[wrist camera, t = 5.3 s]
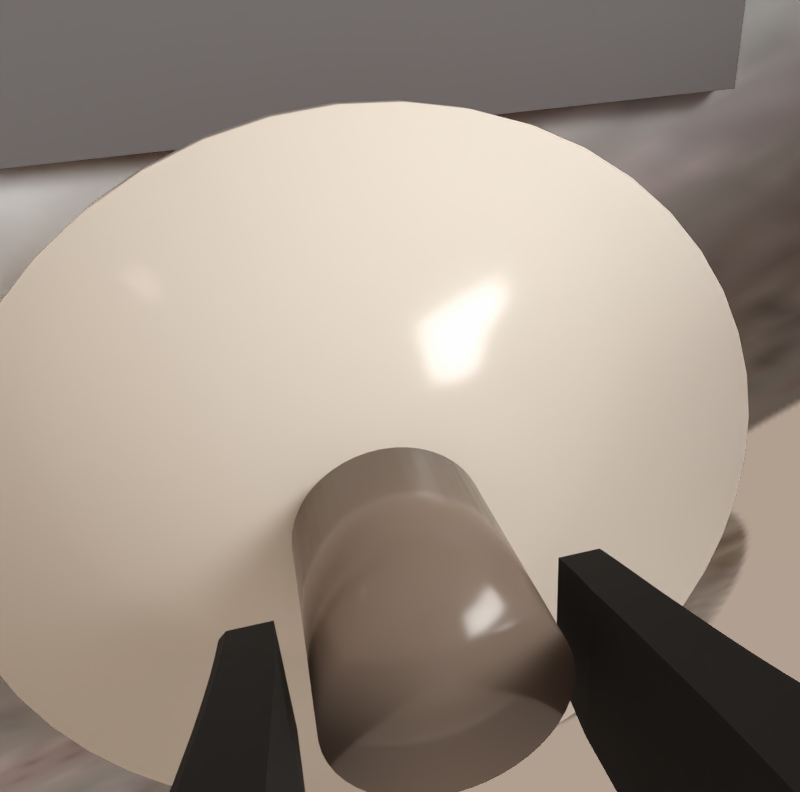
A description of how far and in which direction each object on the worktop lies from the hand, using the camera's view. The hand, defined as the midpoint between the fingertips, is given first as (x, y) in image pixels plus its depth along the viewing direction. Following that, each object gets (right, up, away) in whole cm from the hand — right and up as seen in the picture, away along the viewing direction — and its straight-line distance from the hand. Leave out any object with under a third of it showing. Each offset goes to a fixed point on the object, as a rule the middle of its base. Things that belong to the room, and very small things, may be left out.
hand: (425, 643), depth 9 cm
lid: (-1, +1, +2) cm, 3 cm away
